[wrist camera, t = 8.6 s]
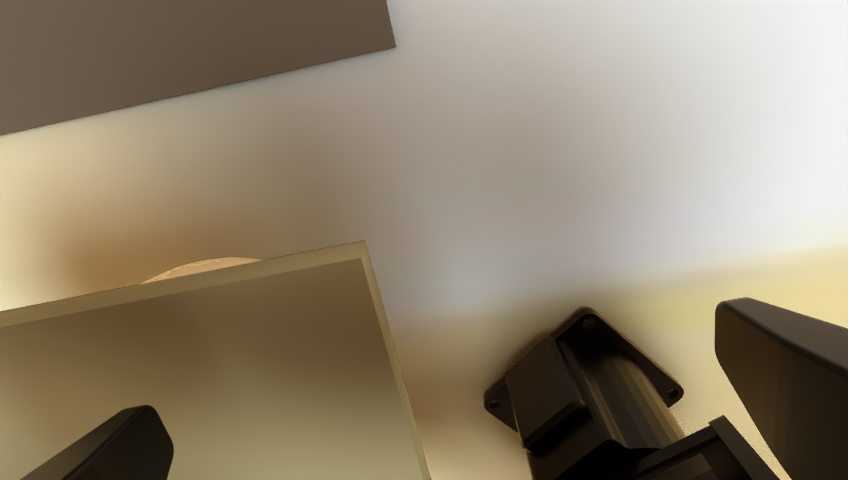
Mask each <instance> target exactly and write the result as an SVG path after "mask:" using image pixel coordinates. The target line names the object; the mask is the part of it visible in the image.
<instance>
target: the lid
mask: <svg viewBox="0 0 848 480" xmlns="http://www.w3.org/2000/svg"><path fill="white" fill-rule="evenodd" d="M141 405H150V406H152V407H154V408H155V409H156V411H157V412H158V414H159V416H160V418H161V420H162V422H163V424H164V426H165V428H166V430H167V432H168V433H169V435H170V437H171V439H172V442H173V446H174V456H173V460H172V464H171V467H170V471H169V474H168V478H167V480H431V478H430V474H429V470H428V467H427V463H426V459H425V456H424V452H423V449H422V445H421V441H420V438H419V434H418V430H417V427H416V423H415V420H414V416H413V412H412V409H411V405H410V401H409V398H408V394H407V390H406V387H405V383H404V380H403V376H402V372H401V369H400V365H399V361H398V358H397V354H396V350H395V347H394V343H393V340H392V336H391V332H390V329H389V325H388V321H387V318H386V314H385V310H384V307H383V303H382V300H381V296H380V292H379V289H378V285H377V281H376V278H375V274H374V270H373V267H372V263H371V260H370V256H369V252H368V249H367V245H366V241H365V240H364V241H359V242H354V243H349V244H343V245H338V246H333V247H328V248H323V249H318V250H313V251H308V252H302V253H297V254H292V255H287V256H282V257H277V258H272V259H267V260H261V261H256V262H251V263H246V264H241V265H236V266H231V267H226V268H221V269H215V270H210V271H205V272H200V273H195V274H190V275H185V276H180V277H174V278H169V279H164V280H159V281H154V282H149V283H144V284H139V285H133V286H128V287H123V288H118V289H113V290H108V291H103V292H98V293H93V294H87V295H82V296H77V297H72V298H67V299H62V300H57V301H52V302H46V303H41V304H36V305H31V306H26V307H21V308H16V309H11V310H5V311H0V480H20V479H21V478H23V477H24V476H26V475H27V474H28V473H30V472H31V471H33V470H34V469H36V468H37V467H39V466H40V465H42V464H43V463H45V462H46V461H48V460H49V459H51V458H52V457H53V456H55V455H56V454H58V453H59V452H61V451H62V450H64V449H65V448H67V447H68V446H70V445H71V444H73V443H74V442H76V441H77V440H78V439H80V438H81V437H83V436H84V435H86V434H87V433H89V432H90V431H92V430H93V429H95V428H96V427H98V426H99V425H101V424H102V423H103V422H105V421H106V420H108V419H109V418H111V417H112V416H114V415H115V414H117V413H118V412H120V411H121V410H123V409H126V408H130V407H136V406H141Z"/></svg>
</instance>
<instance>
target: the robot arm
mask: <svg viewBox="0 0 848 480" xmlns="http://www.w3.org/2000/svg"><path fill="white" fill-rule="evenodd" d="M586 319H592V320H591V322H590V323H588V324H583V322H584V321H585V320H586ZM715 353H716V356H717V359H718V362H719V364H720V365H721V367H722V369H723V370H724V372H725V374H726V376H727V377H728V379H729V381H730V382H731V384H732V386H733V387H734V389H735V391H736V393H737V394H738V396H739V398H740V399H741V401H742V403H743V405H744V406H745V408H746V410H747V411H748V413H749V415H750V416H751V418H752V420H753V422H754V423H755V425H756V427H757V428H758V430H759V432H760V433H761V435H762V437H763V438H764V440H765V442H766V443H767V445H768V446H769V448H770V450H771V451H772V453H773V454H774V456H775V457H776V458H777V460H778V461H779V463H780V464H781V466H782V467H783V468H784V470H785V471H786V472H787V474H788V475H789V477H790V478H791V479H792V480H848V329H847V328H844V327H841V326H838V325H835V324H831V323H828V322H825V321H822V320H819V319H815V318H812V317H809V316H806V315H803V314H800V313H796V312H793V311H790V310H787V309H784V308H780V307H777V306H774V305H771V304H768V303H764V302H761V301H758V300H755V299H752V298H746V297H744V298H738V299H733V300H727V301H722V302H720V303H719V304H718V305H717V307H716V311H715ZM672 389H673V390H672ZM670 390H672V391H671V392H668V391H670ZM667 392H668V393H667ZM683 394H684V390H683V388H682V387H681V386H680V384H679V383H678V381H677V380H675V379H674V378H673V377H672V376H671V375H670V374H668V373H667V372H666V371H665V370H664V369H662V368H661V367H660V366H659V365H658V364H657V363H655V362H654V361H653V360H652V359H651V358H650V357H648V356H647V355H646V354H645V353H644V352H643V351H641V350H640V349H639V348H638V347H637V346H636V345H634V344H633V343H632V342H631V341H630V340H629V339H627V338H626V337H625V336H624V335H623V334H621V333H620V332H619V331H618V330H617V329H616V328H614V327H613V326H612V325H611V324H610V323H609V322H607V321H606V320H605V319H604V318H603V317H602V316H600V315H599V314H598V313H597V312H596V311H594V310H592V309H582V310H581V311H579V312H577V313H576V314H575V315H574V316H573V317H572V318H571V319H570V320H568V321H567V322H566V323H565V324H564V325H563V326H562V327H560V328H559V329H558V330H557V331H556V332H555V333H554V334H552V335H551V336H550V337H549V338H546V339H544V340H543V341H542V342H541V343H540V344H539V345H538V346H536V347H535V348H534V349H533V350H532V351H531V352H530V353H529V354H527V355H526V356H525V357H524V358H523V359H522V360H521V361H519V362H518V363H517V364H516V365H515V366H514V367H513V368H511V369H510V370H509V371H508V372H507V373H506V376H505V377H503V378H502V379H501V380H500V381H499V382H498V383H497V384H495V385H494V386H493V387H492V388H491V389H490V390H489V391H487V392H486V393H485V395H484V397H483V401H484V406H485V409H486V410H487V411H488V412H489V413H491V414H492V415H494V416H495V417H496V418H498V419H499V420H501V421H502V422H503V423H505V424H506V425H508V426H509V427H510V428H512V429H513V430H515V431H516V432H517V433H518V434H519V438H520V442H521V446H522V447H523V448H524V449H525V452H526V456H527V460H528V464H529V468H530V472H531V476H532V480H780V479H779V478H778V477H777V476H776V475H775V473H774V472H773V471H772V470H771V469H770V468H769V467H768V465H767V464H766V463H765V462H764V461H763V460H762V458H761V457H760V456H759V455H758V454H757V453H756V452H755V450H754V449H753V448H752V447H751V446H750V445H749V443H748V442H747V441H746V440H745V439H744V438H743V437H742V435H741V434H740V433H739V432H738V431H737V430H736V428H735V427H734V426H733V425H732V424H731V423H730V422H729V420H728V419H727V418H726V417H725V416H724V415H723V416H720V417H718V418H716V419H714V420H712V421H710V422H708V423H709V425H710V426H707V427H705V428H703V429H701V430H699V431H697V432H695V433H693V434H691V435H689V436H687V437H686V435H685V434H684V432H683V431H682V429H681V428H680V426H679V424H678V423H677V421H676V420H675V418H674V417H673V415H672V414H671V412H670V410H669V409H668V408H669V407H671V406H672V405H673V404H675V403H676V402H677V401H679V400H680V399H681V398H682V397H683ZM493 400H499V401H498V402H496V403H492V402H491V401H493ZM173 456H174V446H173V442H172V439H171V437H170V435H169V433H168V432H167V430H166V428H165V426H164V424H163V422H162V420H161V418H160V416H159V414H158V412H157V411H156V409H155V408H154V407H152V406H150V405H141V406H136V407H130V408H126V409H123V410H121V411H120V412H118V413H117V414H115V415H114V416H112V417H111V418H109V419H108V420H106V421H105V422H103V423H102V424H101V425H99V426H98V427H96V428H95V429H93V430H92V431H90V432H89V433H87V434H86V435H84V436H83V437H81V438H80V439H78V440H77V441H76V442H74V443H73V444H71V445H70V446H68V447H67V448H65V449H64V450H62V451H61V452H59V453H58V454H56V455H55V456H53V457H52V458H51V459H49V460H48V461H46V462H45V463H43V464H42V465H40V466H39V467H37V468H36V469H34V470H33V471H31V472H30V473H28V474H27V475H26V476H24V477H23V478H21V479H20V480H167V478H168V474H169V471H170V467H171V464H172V460H173Z"/></svg>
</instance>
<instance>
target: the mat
mask: <svg viewBox="0 0 848 480" xmlns="http://www.w3.org/2000/svg"><path fill="white" fill-rule="evenodd" d="M394 47H396V45H395V41H394V36H393V31H392V27H391V22H390V17H389V13H388V8H387V4H386V0H0V136H1V135H5V134H10V133H14V132H19V131H23V130H27V129H32V128H36V127H41V126H45V125H50V124H54V123H59V122H63V121H68V120H72V119H77V118H81V117H85V116H90V115H94V114H99V113H103V112H108V111H112V110H117V109H121V108H126V107H130V106H135V105H139V104H144V103H148V102H152V101H157V100H161V99H166V98H170V97H175V96H179V95H184V94H188V93H193V92H197V91H202V90H206V89H211V88H215V87H219V86H224V85H228V84H233V83H237V82H242V81H246V80H251V79H255V78H260V77H264V76H269V75H273V74H277V73H282V72H286V71H291V70H295V69H300V68H304V67H309V66H313V65H318V64H322V63H327V62H331V61H336V60H340V59H344V58H349V57H353V56H358V55H362V54H367V53H371V52H376V51H380V50H385V49H389V48H394Z"/></svg>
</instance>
